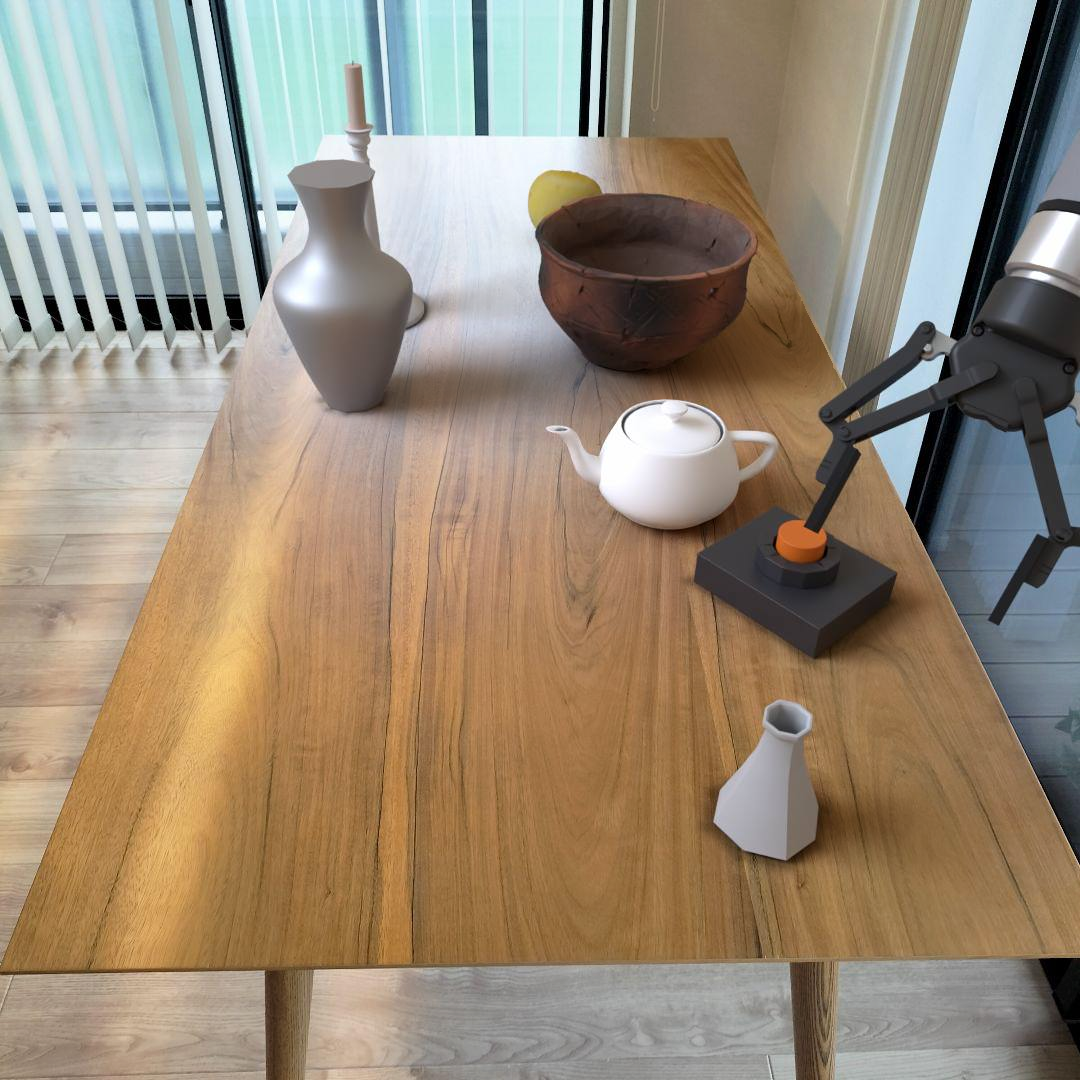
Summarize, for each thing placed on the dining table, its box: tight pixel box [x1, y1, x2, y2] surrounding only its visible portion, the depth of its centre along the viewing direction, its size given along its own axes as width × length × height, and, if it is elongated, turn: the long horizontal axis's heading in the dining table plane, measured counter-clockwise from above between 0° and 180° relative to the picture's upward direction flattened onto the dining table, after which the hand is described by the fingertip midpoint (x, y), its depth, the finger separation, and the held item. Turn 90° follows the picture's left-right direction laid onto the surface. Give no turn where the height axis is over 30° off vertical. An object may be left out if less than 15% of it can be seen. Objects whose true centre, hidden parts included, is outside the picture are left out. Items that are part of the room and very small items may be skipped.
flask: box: [713, 698, 820, 861], centre depth 72 cm, size 7×7×10 cm
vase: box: [271, 158, 414, 413], centre depth 112 cm, size 14×14×25 cm
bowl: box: [534, 192, 759, 372], centre depth 125 cm, size 25×25×15 cm
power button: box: [776, 519, 827, 564], centre depth 91 cm, size 4×4×2 cm
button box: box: [693, 505, 899, 659], centre depth 93 cm, size 13×11×5 cm
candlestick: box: [341, 60, 425, 329], centre depth 128 cm, size 13×13×30 cm
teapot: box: [545, 399, 779, 531], centre depth 102 cm, size 22×14×11 cm, turn 93°
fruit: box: [527, 169, 603, 229], centre depth 154 cm, size 10×11×10 cm
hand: (898, 575), depth 75 cm, fingers open, 13 cm apart
